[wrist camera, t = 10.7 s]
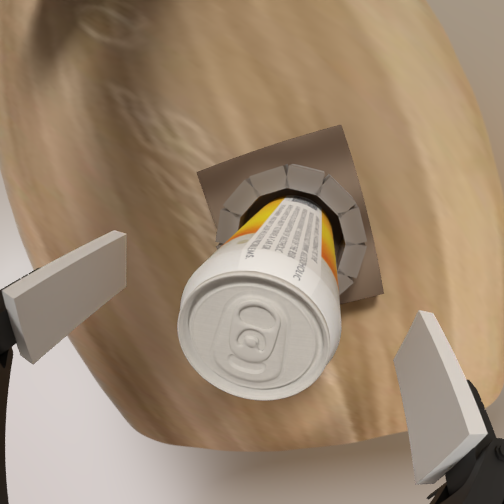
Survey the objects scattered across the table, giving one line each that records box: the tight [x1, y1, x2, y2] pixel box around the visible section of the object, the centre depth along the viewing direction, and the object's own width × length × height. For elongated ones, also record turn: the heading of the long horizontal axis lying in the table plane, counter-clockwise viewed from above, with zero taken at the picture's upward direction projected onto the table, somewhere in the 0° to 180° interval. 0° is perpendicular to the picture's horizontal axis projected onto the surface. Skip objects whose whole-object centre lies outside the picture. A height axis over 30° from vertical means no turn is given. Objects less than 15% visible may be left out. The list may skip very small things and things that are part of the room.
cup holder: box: [197, 125, 384, 304], centre depth 23 cm, size 14×12×6 cm
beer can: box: [177, 195, 341, 401], centre depth 17 cm, size 6×6×15 cm
